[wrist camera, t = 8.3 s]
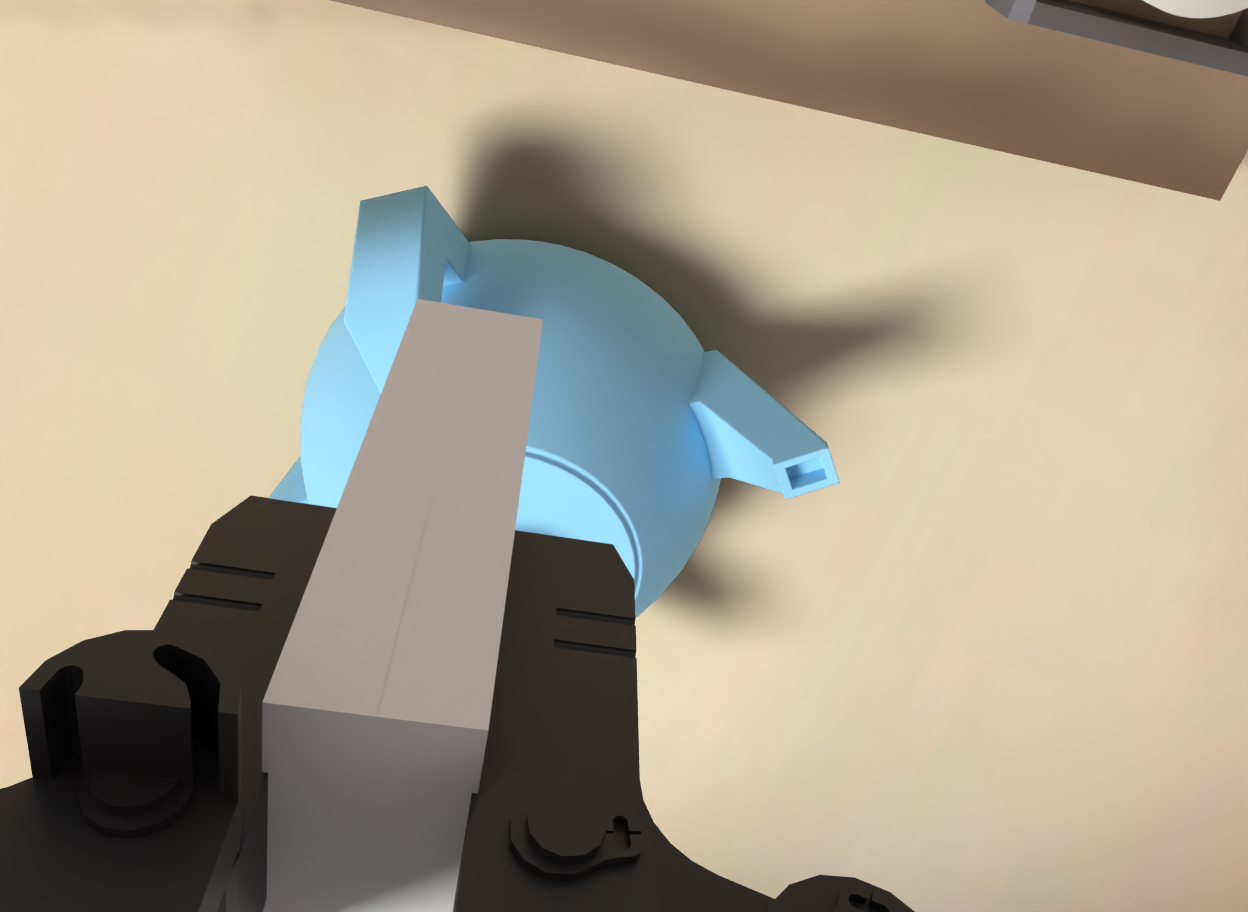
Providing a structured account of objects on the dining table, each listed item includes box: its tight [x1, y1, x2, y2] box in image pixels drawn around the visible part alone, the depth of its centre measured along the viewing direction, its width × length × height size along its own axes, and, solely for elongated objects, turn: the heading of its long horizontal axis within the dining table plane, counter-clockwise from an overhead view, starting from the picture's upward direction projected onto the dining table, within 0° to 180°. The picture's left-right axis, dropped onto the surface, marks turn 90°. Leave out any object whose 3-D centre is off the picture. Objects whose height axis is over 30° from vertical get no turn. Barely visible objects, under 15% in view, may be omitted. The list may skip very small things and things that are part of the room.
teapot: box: [269, 186, 840, 618], centre depth 33 cm, size 15×15×11 cm
